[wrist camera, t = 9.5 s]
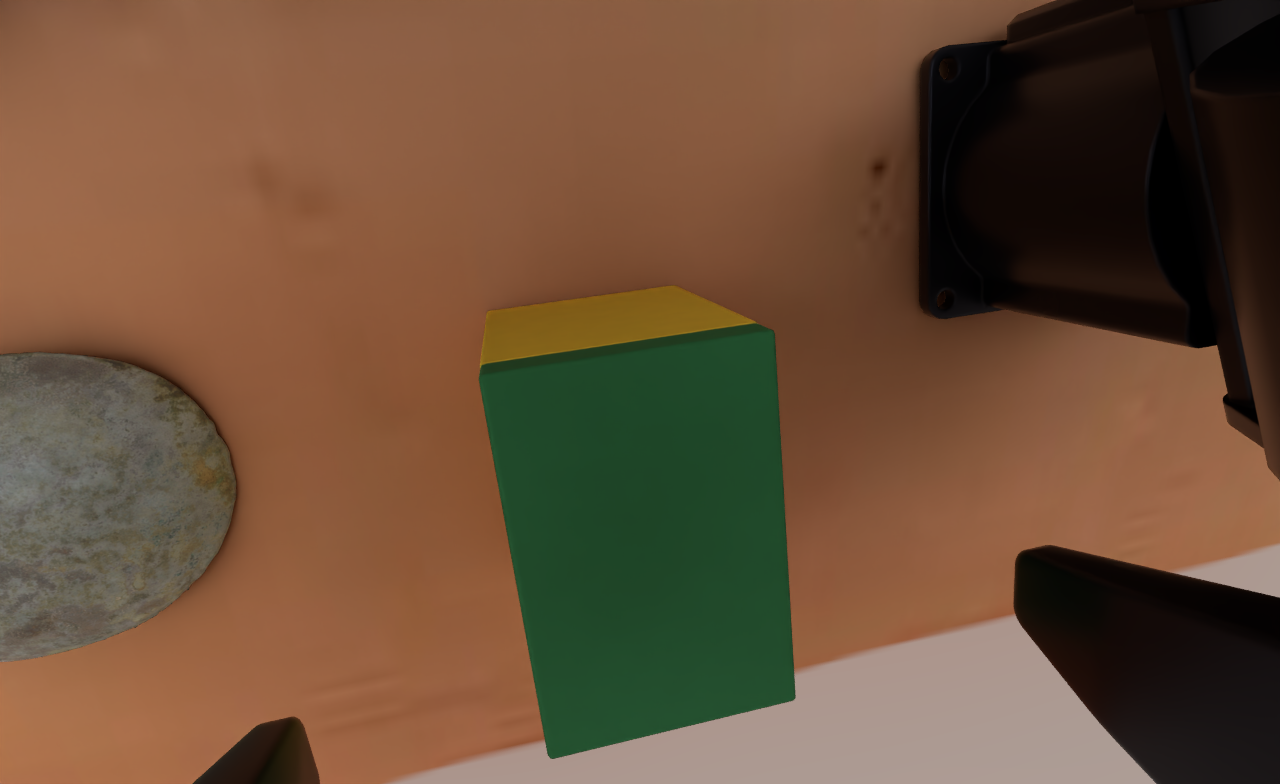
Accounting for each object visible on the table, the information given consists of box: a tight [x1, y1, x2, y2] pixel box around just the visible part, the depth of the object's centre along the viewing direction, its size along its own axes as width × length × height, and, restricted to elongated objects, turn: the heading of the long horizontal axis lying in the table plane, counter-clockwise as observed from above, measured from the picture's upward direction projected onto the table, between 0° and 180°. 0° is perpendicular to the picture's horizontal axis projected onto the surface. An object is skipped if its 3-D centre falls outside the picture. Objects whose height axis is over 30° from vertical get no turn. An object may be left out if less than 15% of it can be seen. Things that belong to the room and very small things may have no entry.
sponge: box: [479, 285, 795, 759], centre depth 14 cm, size 7×5×6 cm, turn 6°
